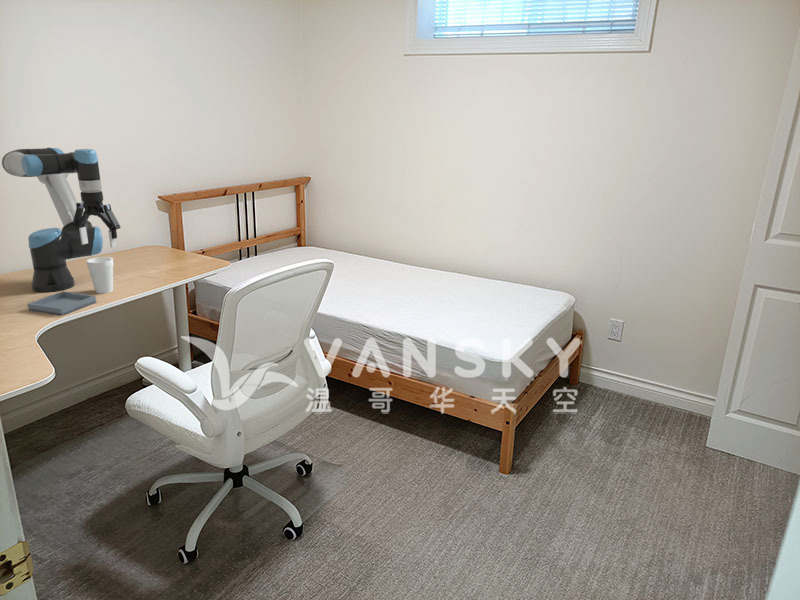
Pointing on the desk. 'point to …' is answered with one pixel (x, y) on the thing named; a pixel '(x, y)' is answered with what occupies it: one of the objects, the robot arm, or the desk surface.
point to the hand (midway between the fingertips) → (99, 245)
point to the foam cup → (101, 273)
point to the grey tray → (62, 303)
